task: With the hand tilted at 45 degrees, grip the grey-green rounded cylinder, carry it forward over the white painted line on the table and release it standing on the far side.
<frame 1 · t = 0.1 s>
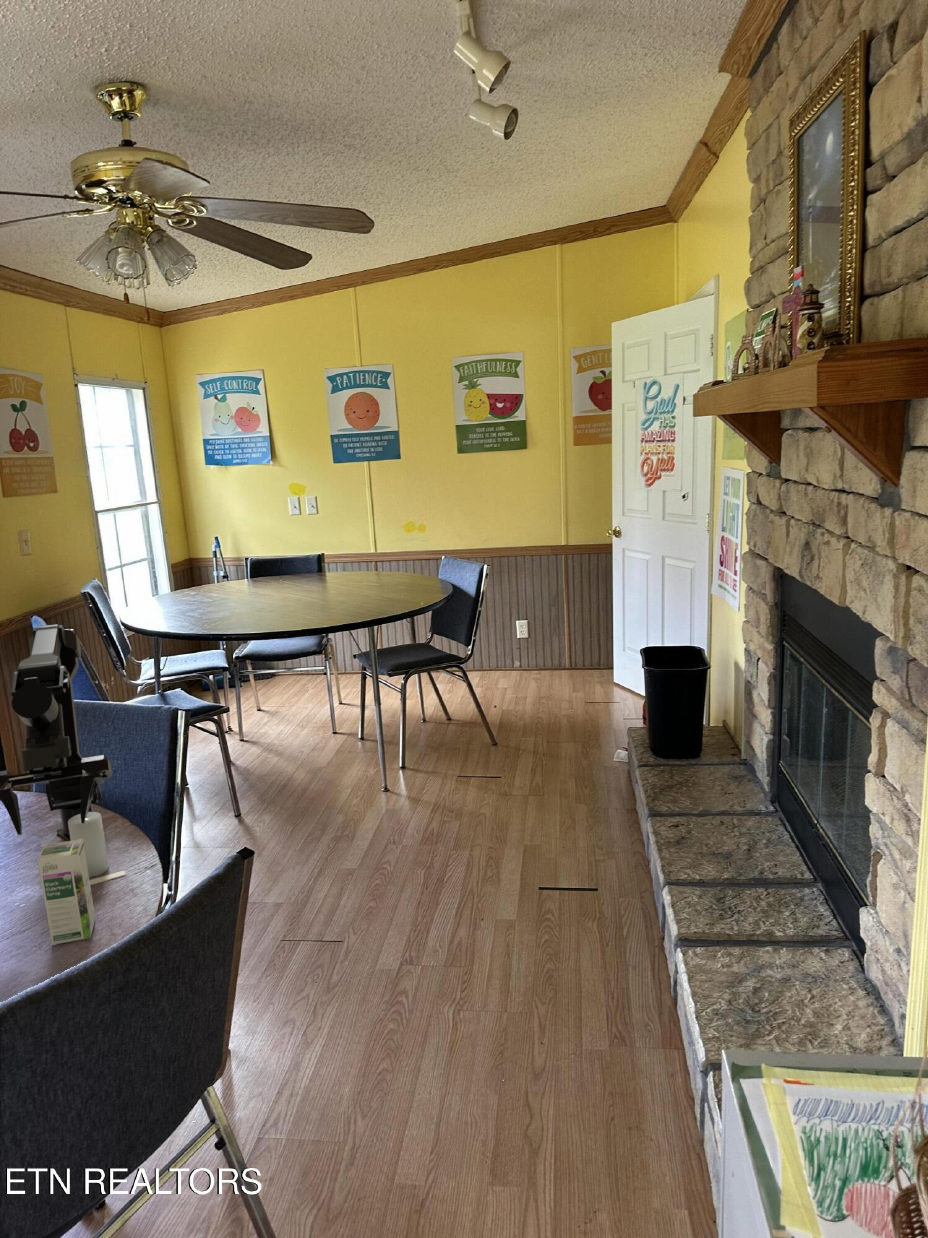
hand: (51, 829, 134), 15 cm above the table, tool tilted 35°, fingers open, 9 cm apart
throw line: (95, 882, 147), on the table
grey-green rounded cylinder: (92, 870, 151), on the table
syrup box: (74, 933, 132), on the table
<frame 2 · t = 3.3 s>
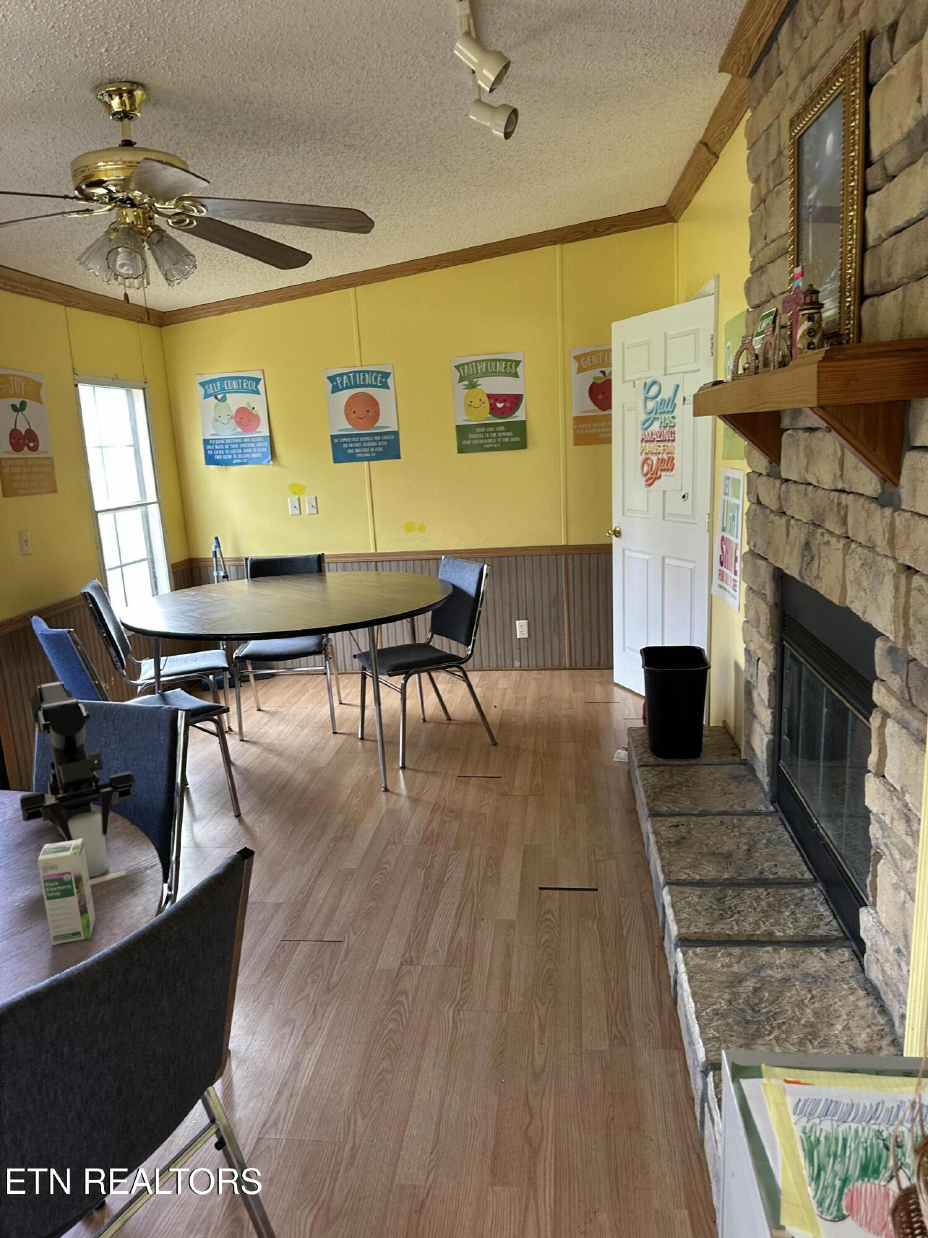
hand: (88, 839, 148), 7 cm above the table, tool tilted 45°, fingers closed on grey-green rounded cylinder, 5 cm apart
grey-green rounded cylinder: (92, 870, 151), on the table, touching gripper
everything else where it was.
when the fingers open (8 cm above the table, at t = 6.3 s): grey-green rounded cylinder drops 1 cm, on the table.
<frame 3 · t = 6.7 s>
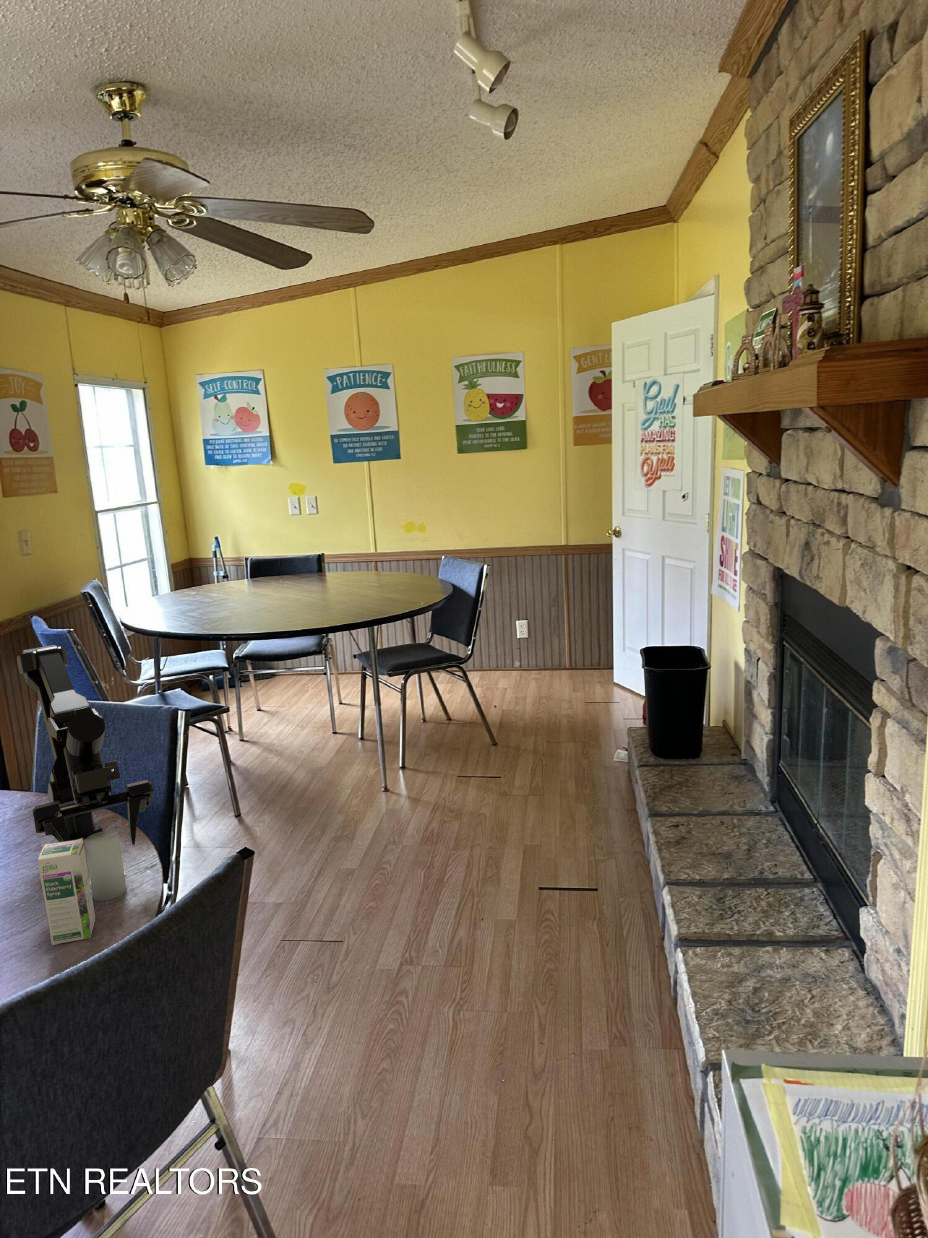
hand: (104, 852, 140), 8 cm above the table, tool tilted 45°, fingers open, 9 cm apart
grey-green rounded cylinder: (109, 892, 143), on the table
everything else where it was.
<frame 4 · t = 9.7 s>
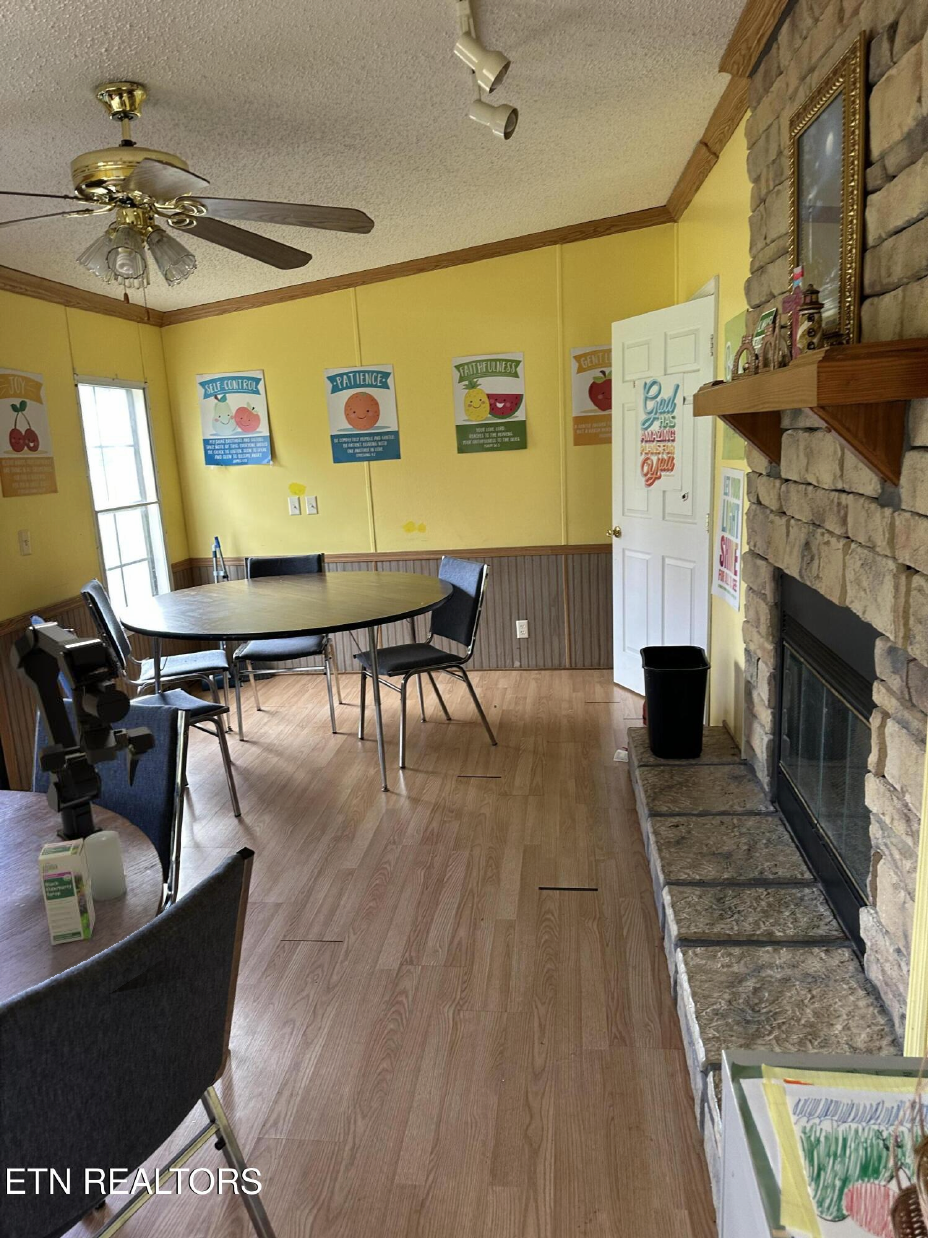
hand: (104, 792, 152), 13 cm above the table, tool pointing down, fingers open, 9 cm apart
nothing on the table moved.
at the end: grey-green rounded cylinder inside the target area (1.9 cm from its centre), on the table; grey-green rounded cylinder tilted 0°; the gripper is holding nothing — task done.
